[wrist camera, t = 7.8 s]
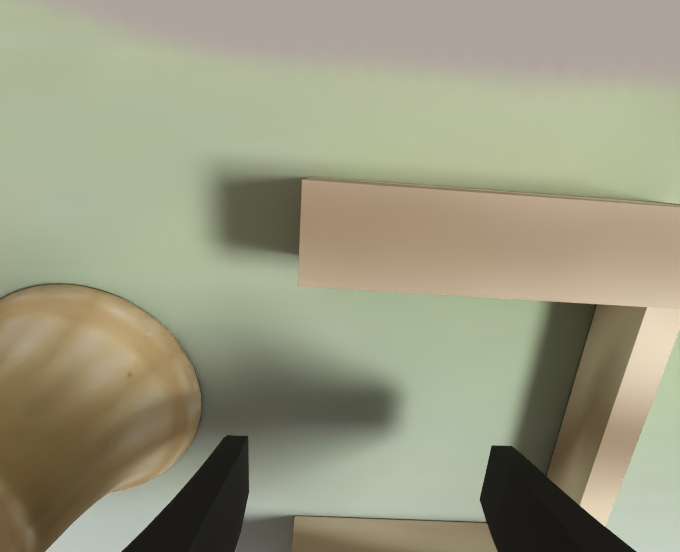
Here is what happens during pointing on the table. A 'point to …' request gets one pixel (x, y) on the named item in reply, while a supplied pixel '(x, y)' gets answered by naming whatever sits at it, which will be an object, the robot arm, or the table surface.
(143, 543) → the robot arm
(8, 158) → the table surface
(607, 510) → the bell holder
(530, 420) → the table surface
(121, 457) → the hand bell
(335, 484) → the table surface
